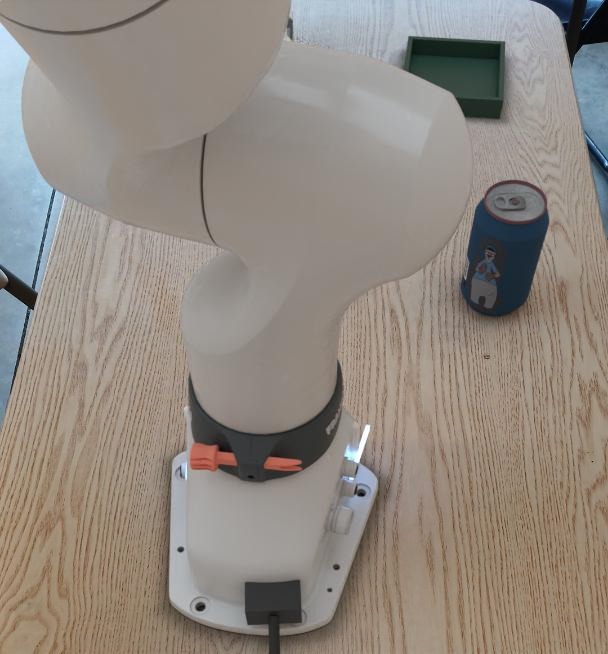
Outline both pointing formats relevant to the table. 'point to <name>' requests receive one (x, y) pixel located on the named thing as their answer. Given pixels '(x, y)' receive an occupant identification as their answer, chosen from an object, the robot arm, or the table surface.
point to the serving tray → (462, 71)
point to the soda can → (504, 247)
